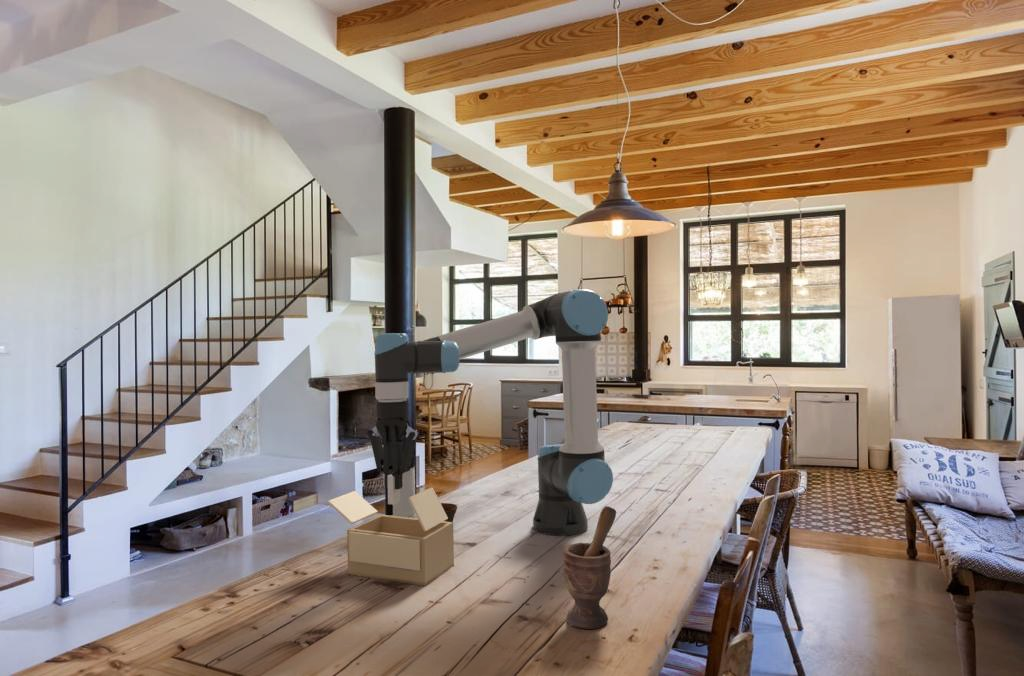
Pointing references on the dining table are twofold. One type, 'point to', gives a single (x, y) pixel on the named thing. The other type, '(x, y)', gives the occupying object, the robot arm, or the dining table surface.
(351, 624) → the dining table surface
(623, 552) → the dining table surface
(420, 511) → the flap near
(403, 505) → the travel mug
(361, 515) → the flap far
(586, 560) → the mortar and pestle
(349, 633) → the dining table surface
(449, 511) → the cup
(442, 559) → the carton
